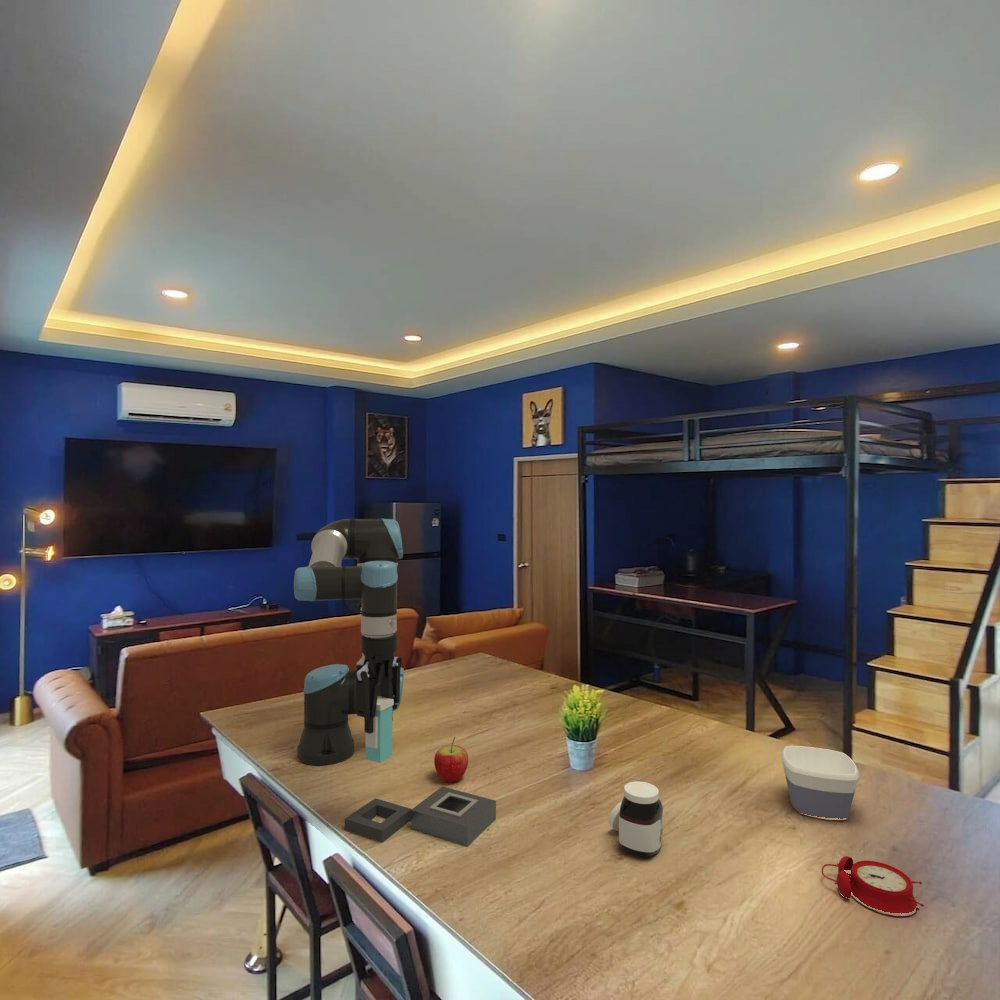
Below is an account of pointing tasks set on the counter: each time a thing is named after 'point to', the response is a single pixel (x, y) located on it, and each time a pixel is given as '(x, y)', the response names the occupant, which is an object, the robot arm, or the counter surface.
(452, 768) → the apple
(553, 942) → the counter surface
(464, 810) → the port
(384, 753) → the plug
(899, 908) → the alarm clock
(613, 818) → the spread jar
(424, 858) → the counter surface
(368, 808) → the dark grey square frame
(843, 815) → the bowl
